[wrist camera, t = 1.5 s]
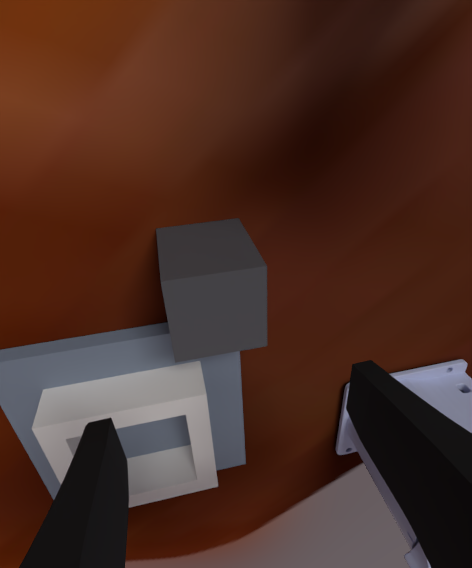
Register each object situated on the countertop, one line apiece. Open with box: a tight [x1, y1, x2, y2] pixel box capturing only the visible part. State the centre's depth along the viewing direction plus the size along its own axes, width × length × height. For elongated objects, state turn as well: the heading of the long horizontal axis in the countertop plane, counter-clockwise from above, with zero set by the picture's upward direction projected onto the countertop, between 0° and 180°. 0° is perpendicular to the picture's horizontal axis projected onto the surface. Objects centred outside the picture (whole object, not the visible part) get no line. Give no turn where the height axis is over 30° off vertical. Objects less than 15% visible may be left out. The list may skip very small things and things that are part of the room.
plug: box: [156, 218, 267, 363], centre depth 17 cm, size 4×4×5 cm
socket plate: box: [0, 322, 246, 508], centre depth 22 cm, size 13×13×4 cm
